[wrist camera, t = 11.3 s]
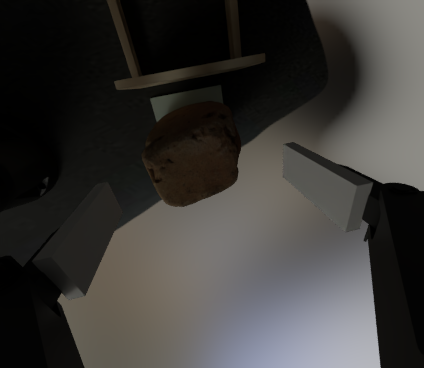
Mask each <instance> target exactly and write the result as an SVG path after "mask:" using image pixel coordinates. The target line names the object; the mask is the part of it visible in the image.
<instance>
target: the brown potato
mask: <svg viewBox="0 0 424 368" xmlns="http://www.w3.org/2000/svg"><path fill="white" fill-rule="evenodd" d="M240 151H241V140H240V137H239V134H238V131H237V129H236V126H235V123H234V121H233V116H232V112H231V110H230V108H229V107H228V106H226V105H224V104H223V103H220V102H214V101H206V102H200V103H195V104H190V105H187V106H184V107H181V108H179V109H176V110H174V111H172V112H170V113H168V114H166V115H165V116H163V117H162V118H161V119H160V120H159V121H158V122H157V123H156V124H155V126H154V127H153V129H152V130H151V132H150V133H149V135H148V138H147V141H146V148H145V149H144V151H143V153H142V160H143V162H144V165H145V167H146V169H147V171H148V173H149V175H150V177H151V180H152V182H153V184H154V186H155V188H156V190H157V192H158V194H159V196H160V197H161V198H162V199H163V200H164V202H165V203H166V204H168V205H171V206H175V207H177V206H179V207H184V206H187V205H190V204H193V203H196V202H198V201H200V200H202V199H205V198H208V197H210V196H212V195H215V194H217V193H219V192H222V191H223V190H225V189H227V188H229V187H230V186H232V185H233V184H234V183H235V182H236V180H237V177H238V168H237V164H238V157H239V154H240Z"/></svg>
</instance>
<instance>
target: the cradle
mask: <svg viewBox="0 0 424 368" xmlns="http://www.w3.org/2000/svg"><path fill="white" fill-rule="evenodd" d="M107 2H108V5H109V8H110V11H111V14H112V17H113V20H114V23H115V26H116V29H117V32H118V36H119V39H120V42H121V45H122V48H123V51H124V54H125V57H126V60H127V63H128V66H129V69H130V72H131V75H132V78H129V79H124V80H119V81H114V83H115V86H116V88H117V90H122V89H139V88H145V87H150V86H155V85H161V84H166V83H171V82H177V81H182V80H187V79H192V78H198V77H203V76H208V75H213V74H219V73H224V72H229V71H234V70H239V69H242V68H246V67H249V66H252V65H256V64H259V63H263V62H265V53H263V54H257V55H252V56H247V57H242V56H241V43H240V29H239V16H238V2H237V0H225V10H226V20H227V30H228V40H229V50H230V60H225V61H220V62H215V63H209V64H204V65H199V66H193V67H188V68H183V69H177V70H172V71H167V72H161V73H156V74H151V75H145V76H142V72H141V69H140V66H139V62H138V59H137V56H136V52H135V49H134V46H133V42H132V39H131V36H130V33H129V29H128V26H127V23H126V19H125V16H124V13H123V9H122V6H121V3H120V0H107Z"/></svg>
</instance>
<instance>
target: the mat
mask: <svg viewBox="0 0 424 368" xmlns="http://www.w3.org/2000/svg"><path fill="white" fill-rule="evenodd" d="M150 100H151V103H152V107H153V110H154V113H155V117H156V120H157V122H158V121H159V120H160V119H161V118H162V117H163V116H165V115H166V114H168V113H170V112H172V111H174V110H176V109H179V108H181V107H184V106H187V105H190V104H195V103H200V102H206V101H214V102H220V103H223V98H222V90H221V85H217V86H212V87H207V88H202V89H196V90H191V91H186V92H181V93H176V94H170V95H165V96H160V97H155V98H150Z"/></svg>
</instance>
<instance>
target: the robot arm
mask: <svg viewBox="0 0 424 368" xmlns="http://www.w3.org/2000/svg"><path fill="white" fill-rule="evenodd" d="M283 147H284V148H283V177H284V178H285V179H286V180H287V181H288V182H289V183H291V184H292V185H293V186H294V187H295V188H296V189H298V190H299V191H300V192H301V193H302V194H303V195H304V196H305V197H306V198H308V199H309V200H310V201H311V202H312V203H313V204H314V205H315V206H316V207H318V208H319V209H320V210H321V211H322V212H323V213H324V214H325V215H327V216H328V217H329V218H330V219H331V220H332V221H333V222H334V223H335V224H337V225H338V226H339V227H340V228H341V229H342V230H343V231H344V232H349V231H353V230H357V229H359V228H360V225H361V222H362V219H363V220H364V221H365V222H367V223H368V224H369V225H368V229H367V232H366V235H365V238H364V241H365V242H366V241H367V239H368V245H369V255H370V265H371V274H372V285H373V294H374V305H375V314H376V325H377V335H378V345H379V354H380V365H381V368H424V191H419V190H418V189H417V188H415V187H413V186H410V185H406V184H401V183H385V184H382V183H380V182H378V181H376V180H374V179H372V178H370V177H368V176H366V175H364V174H362V173H360V172H357V171H355V170H354V169H351V168H349V167H347V166H343V165H339V164H336V163H333V162H332V161H330V160H328V159H325V158H324V157H322V156H320V155H318V154H316V153H314V152H312V151H310V150H308V149H306V148H304V147H302V146H300V145H298V144H296V143H294V142H292V143H287V144H283ZM57 177H58V168H57V164H56V161H55V158H54V156H53V154H52V153H51V151H50V150H49V148H48V147H47V146H46V145H45V144H44V143H43V141H41V140H40V139H39V138H38V137H37V136H36V135H35V134H33V133H32V132H30V131H29V130H27V129H26V128H24V127H22V126H20V125H18V124H16V123H14V122H11V121H8V120H5V119H1V118H0V212H1V211H4V210H7V209H10V208H13V207H17V206H20V205H23V204H26V203H29V202H32V201H35V200H37V199H39V198H40V197H42V196H43V195H44V194H46V193H47V192H48V191H50V190H51V189H52V188H53V186H54V185H55V183H56V181H57ZM122 213H123V212H122V210H121V208H120V206H119V204H118V202H117V200H116V198H115V196H114V194H113V192H112V190H111V188H110V186H109V184H108V182H104V183H100V184H96V186H95V187H94V188H93V189H92V190H91V191H90V193H89V194H88V195H87V196H86V197H85V199H84V200H83V201H82V202H81V203H80V205H79V206H78V207H77V208H76V209H75V210H74V212H73V213H72V214H71V215H70V216H69V218H68V219H67V220H66V221H65V222H64V224H63V225H62V226H61V227H60V228H59V229H57V230H56V231H55V232H54V233H52V234H51V235H50V237H49V238H48V239H47V240H46V242H45V243H43V245H42V246H41V247H40V249H38V250H37V252H36V253H35V254H34V255H33V256H32V257H31V259H30V260H29V261H28V262H27V263H26V264H25V266H24V267H22V266H21V265H20V264H19V263H18V262H17V261H16V260H15V259H13V258H12V257H11V256H4V257H0V368H84V365H83V363H82V360H81V357H80V354H79V352H78V349H77V347H76V344H75V341H74V338H73V335H72V333H71V330H70V328H69V325H68V322H67V319H66V317H65V314H64V311H63V308H62V306H61V305H60V303H59V302H58V301H57V300H58V298H59V296H60V294H61V293H62V294H64V296H65V297H66V298H67V299H69V300H70V299H75V298H79V297H83V296H85V295H86V293H87V291H88V288H89V286H90V284H91V282H92V280H93V277H94V275H95V273H96V271H97V268H98V266H99V264H100V262H101V260H102V257H103V255H104V253H105V251H106V248H107V246H108V244H109V242H110V240H111V237H112V235H113V233H114V231H115V229H116V226H117V224H118V222H119V220H120V217H121V215H122Z"/></svg>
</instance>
